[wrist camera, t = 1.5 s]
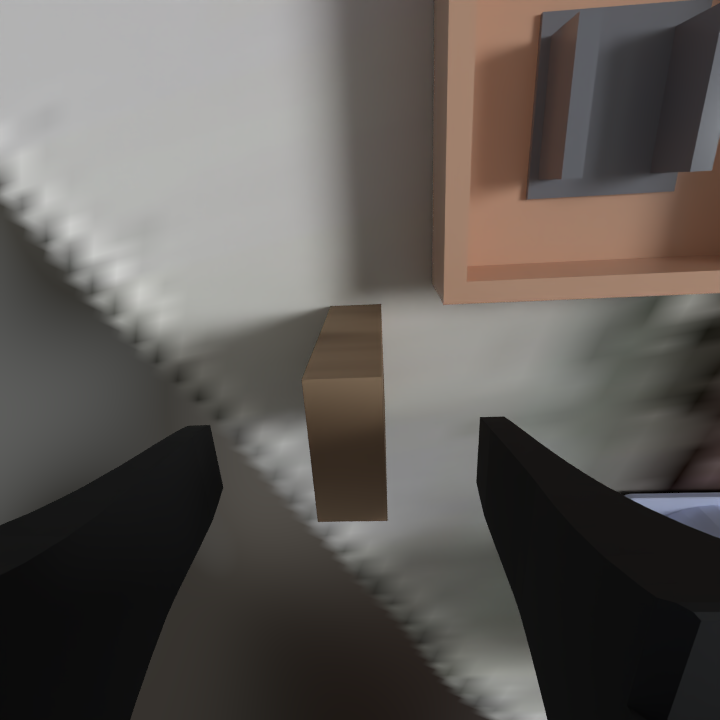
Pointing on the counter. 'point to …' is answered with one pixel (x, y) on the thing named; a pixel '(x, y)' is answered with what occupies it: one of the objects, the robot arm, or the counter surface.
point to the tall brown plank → (348, 416)
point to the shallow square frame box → (575, 149)
